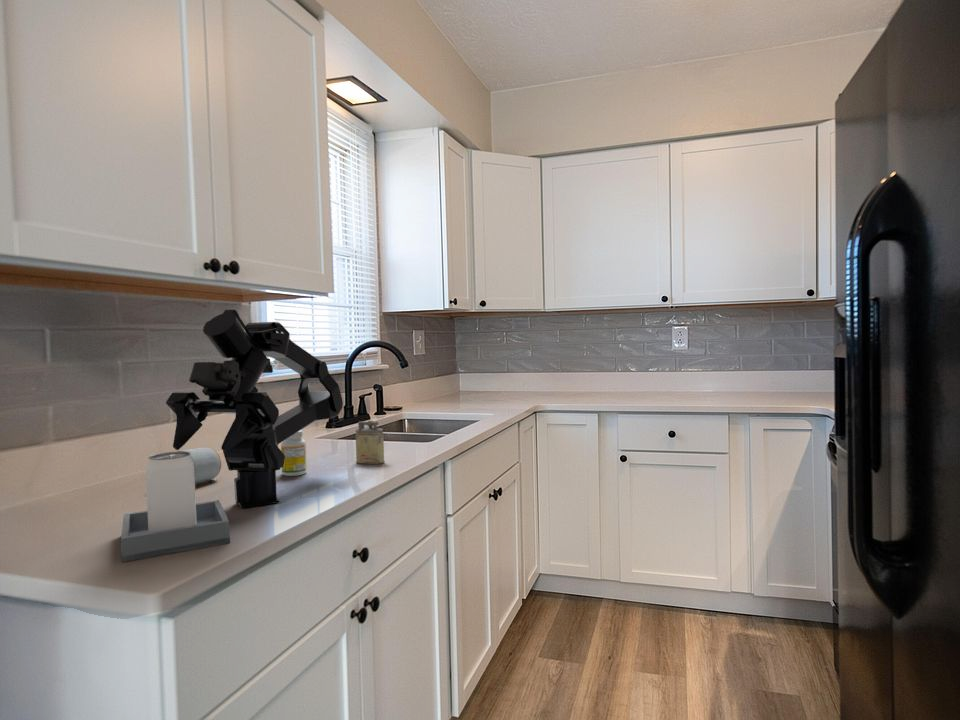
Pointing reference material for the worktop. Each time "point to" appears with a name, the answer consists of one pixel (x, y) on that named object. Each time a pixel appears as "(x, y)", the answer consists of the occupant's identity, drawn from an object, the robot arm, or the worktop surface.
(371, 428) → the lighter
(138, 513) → the tray
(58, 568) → the worktop surface
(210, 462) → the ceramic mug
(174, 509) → the can
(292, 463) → the supplement bottle
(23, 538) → the worktop surface
